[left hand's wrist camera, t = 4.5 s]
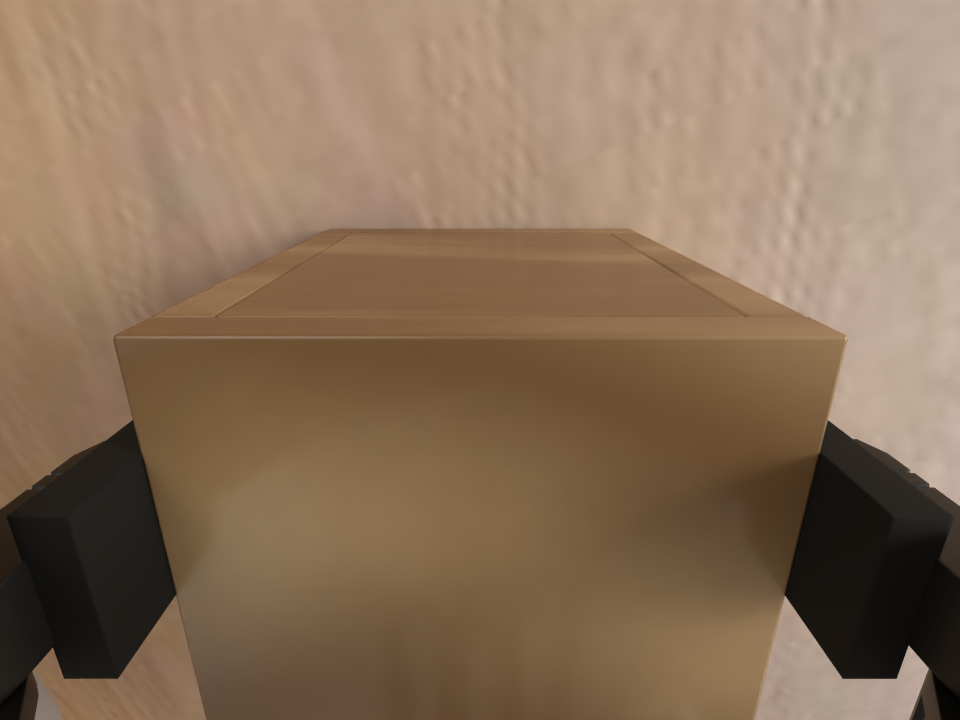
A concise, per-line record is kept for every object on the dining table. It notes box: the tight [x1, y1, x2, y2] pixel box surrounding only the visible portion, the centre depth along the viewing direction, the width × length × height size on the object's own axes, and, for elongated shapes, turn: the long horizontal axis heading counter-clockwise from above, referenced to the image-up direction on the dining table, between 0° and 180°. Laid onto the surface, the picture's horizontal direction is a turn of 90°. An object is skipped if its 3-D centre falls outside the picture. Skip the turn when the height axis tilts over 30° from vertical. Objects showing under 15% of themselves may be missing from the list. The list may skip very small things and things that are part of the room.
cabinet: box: [114, 229, 847, 720], centre depth 16 cm, size 16×10×12 cm, turn 0°
